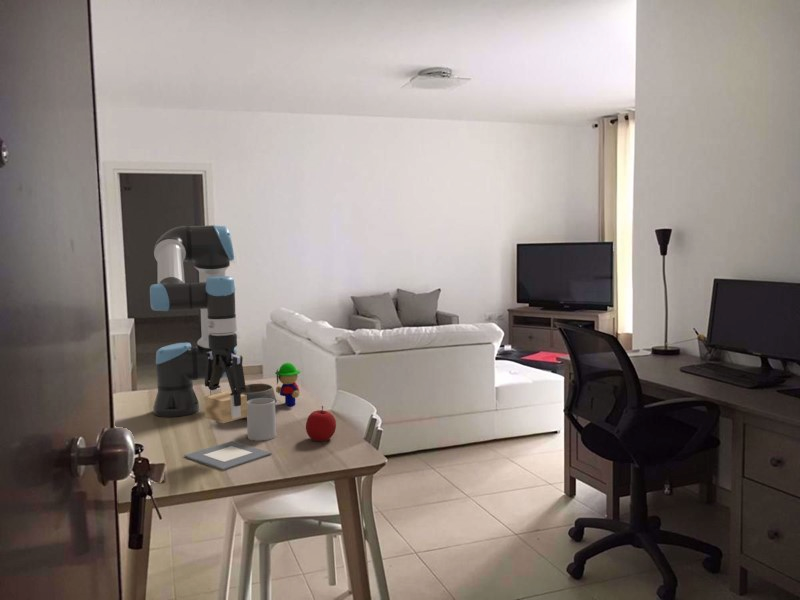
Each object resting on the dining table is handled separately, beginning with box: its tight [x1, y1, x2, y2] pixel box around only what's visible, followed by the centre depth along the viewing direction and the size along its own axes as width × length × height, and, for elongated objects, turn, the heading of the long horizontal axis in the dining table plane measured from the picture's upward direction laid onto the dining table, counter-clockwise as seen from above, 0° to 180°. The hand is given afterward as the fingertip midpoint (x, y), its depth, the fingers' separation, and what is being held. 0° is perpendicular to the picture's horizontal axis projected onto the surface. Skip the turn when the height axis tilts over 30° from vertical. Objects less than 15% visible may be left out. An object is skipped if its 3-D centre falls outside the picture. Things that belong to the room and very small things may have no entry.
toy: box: [274, 362, 301, 407], centre depth 247 cm, size 11×9×15 cm
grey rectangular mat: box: [184, 440, 273, 471], centre depth 192 cm, size 18×16×1 cm
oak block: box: [204, 390, 247, 424], centre depth 191 cm, size 8×8×6 cm
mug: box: [246, 398, 277, 442], centre depth 210 cm, size 12×8×11 cm
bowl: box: [241, 383, 278, 419], centre depth 231 cm, size 14×15×10 cm
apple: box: [305, 405, 337, 442], centre depth 205 cm, size 9×9×10 cm
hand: (226, 414), depth 191 cm, fingers closed on oak block, 8 cm apart
